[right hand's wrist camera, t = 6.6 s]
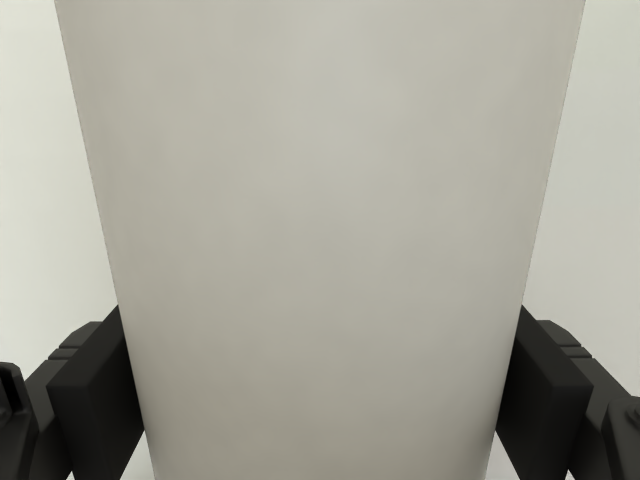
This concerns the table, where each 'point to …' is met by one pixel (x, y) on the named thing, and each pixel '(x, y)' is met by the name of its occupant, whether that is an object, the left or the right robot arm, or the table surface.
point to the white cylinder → (319, 221)
